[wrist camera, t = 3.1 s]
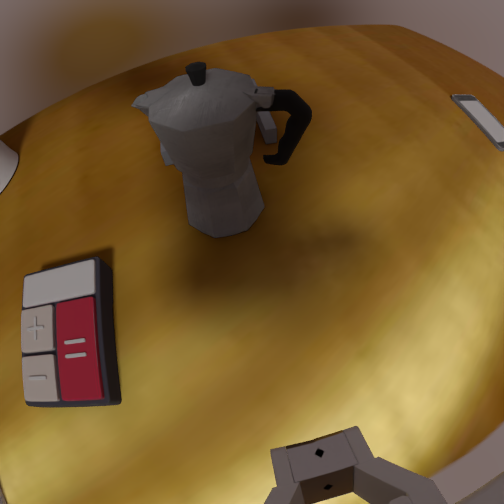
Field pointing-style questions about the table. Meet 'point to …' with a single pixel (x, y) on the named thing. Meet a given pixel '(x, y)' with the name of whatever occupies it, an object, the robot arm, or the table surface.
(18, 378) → the table surface
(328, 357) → the table surface
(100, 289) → the calculator
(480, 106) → the smartphone
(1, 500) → the tablet stand
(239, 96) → the coffeepot
